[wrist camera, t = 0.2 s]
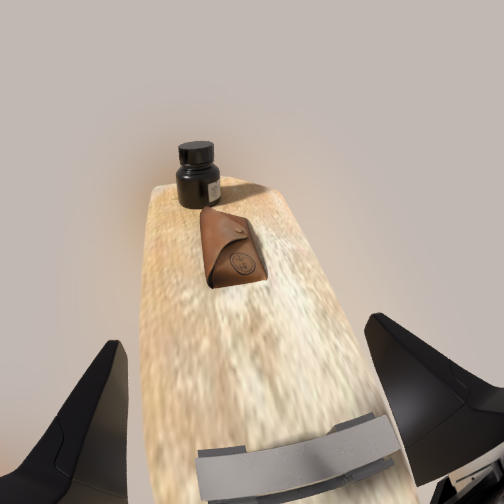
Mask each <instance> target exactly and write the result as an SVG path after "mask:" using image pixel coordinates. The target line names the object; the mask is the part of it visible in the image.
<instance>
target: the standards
mask: <svg viewBox="0 0 504 504" xmlns="http://www.w3.org/2000/svg"><path fill="white" fill-rule="evenodd" d="M373 419H375V416H374V414H373V412H372V413H369V414H366V415H364V416H361V417H358V418H355V419H352V420H349V421H346V422H343V423H340V424H337V425H334V427H333V428H332V429H331V430H330V431H329V432H328V433H327V434H326V435H329V434H333V433H336V432H339V431H342V430H345V429H348V428H351V427H354V426H357V425H360V424H362V423H365V422H368V421H370V420H373ZM243 453H247V452H246V448H245V445H244V446H236V447H228V448H219V449H207V450H198V457H199V458H204V457H217V456H227V455H235V454H243ZM393 465H394V462H393V460H392V458H390V459H388V460H386V461H384V459H381V460H378V461H376V462H374V463H371V464H369V465H367V466H364V467H362V468H359V469H357V470H354V471H351V472H349V473H346V474H343V475H340V476H337V477H334V478H331V479H328V480H325V481H322V482H319V483H315V484H312V485H308V486H304V487H300V488H296V489H292V490H288V491H283V492H279V493H274V494H268V495H263V496H257V497H250V498H243V499H234V500H225V501H211V502H208V504H280V503H285V502H289V501H294V500H298V499H302V498H305V497H309V496H313V495H316V494H320V493H323V492H326V491H329V490H332V489H336V488H339V487H342V486H345V485H348V484H351V483H354V482H357V481H359V480H362V479H364V478H367V477H369V476H371V475H374V474H376V473H378V472H380V471H382V470H385V469H387V468H389V467H391V466H393Z"/></svg>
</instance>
